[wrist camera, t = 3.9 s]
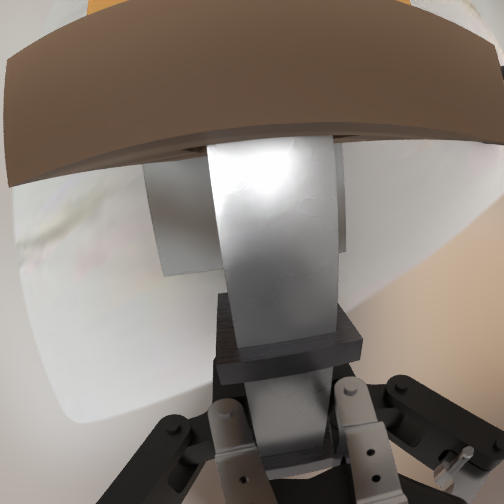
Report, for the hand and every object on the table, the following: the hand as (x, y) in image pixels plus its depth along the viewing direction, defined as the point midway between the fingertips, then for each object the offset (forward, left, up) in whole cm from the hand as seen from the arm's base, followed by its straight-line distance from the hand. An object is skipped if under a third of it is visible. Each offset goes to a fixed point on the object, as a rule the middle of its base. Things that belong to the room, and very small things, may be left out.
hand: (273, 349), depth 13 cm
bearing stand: (-12, 0, -7) cm, 14 cm away
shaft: (-6, 0, +1) cm, 7 cm away
